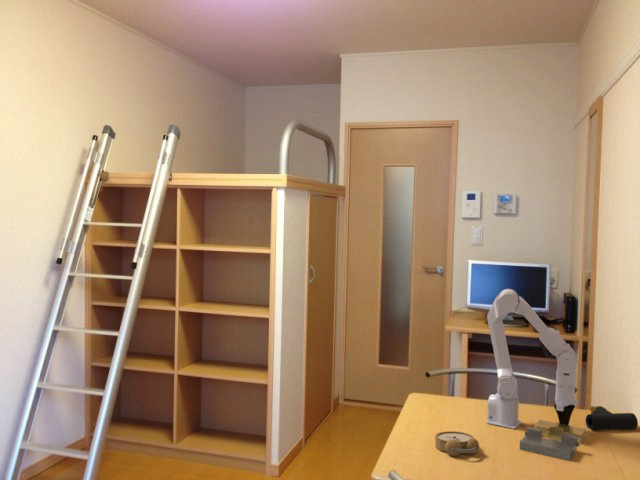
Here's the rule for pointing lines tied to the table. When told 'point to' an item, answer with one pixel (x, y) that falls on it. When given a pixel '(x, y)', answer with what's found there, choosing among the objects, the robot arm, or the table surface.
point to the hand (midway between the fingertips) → (564, 427)
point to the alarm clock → (456, 443)
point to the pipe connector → (609, 420)
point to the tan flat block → (560, 430)
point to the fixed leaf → (549, 444)
